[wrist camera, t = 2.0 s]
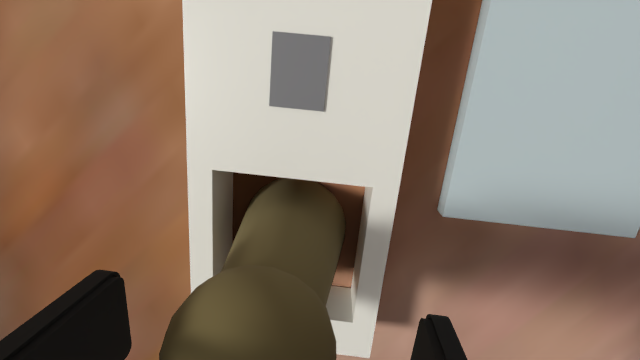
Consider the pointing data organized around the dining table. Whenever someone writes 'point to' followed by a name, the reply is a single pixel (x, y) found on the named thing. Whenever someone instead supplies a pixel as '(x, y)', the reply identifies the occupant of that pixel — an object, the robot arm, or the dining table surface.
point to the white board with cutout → (302, 121)
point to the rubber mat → (550, 118)
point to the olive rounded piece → (268, 283)
